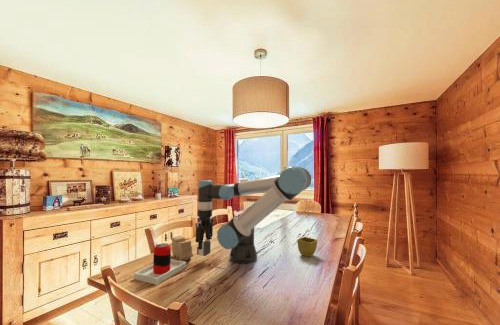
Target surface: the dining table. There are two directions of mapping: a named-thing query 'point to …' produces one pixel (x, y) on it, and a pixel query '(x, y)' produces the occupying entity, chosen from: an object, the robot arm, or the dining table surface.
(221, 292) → the dining table surface
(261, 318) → the dining table surface
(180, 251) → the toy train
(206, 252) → the dark grey block
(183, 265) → the tray
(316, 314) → the dining table surface
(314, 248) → the flower pot
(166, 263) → the soda can
